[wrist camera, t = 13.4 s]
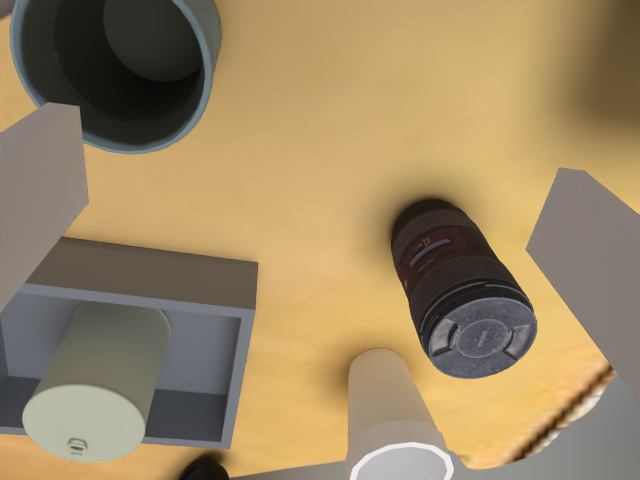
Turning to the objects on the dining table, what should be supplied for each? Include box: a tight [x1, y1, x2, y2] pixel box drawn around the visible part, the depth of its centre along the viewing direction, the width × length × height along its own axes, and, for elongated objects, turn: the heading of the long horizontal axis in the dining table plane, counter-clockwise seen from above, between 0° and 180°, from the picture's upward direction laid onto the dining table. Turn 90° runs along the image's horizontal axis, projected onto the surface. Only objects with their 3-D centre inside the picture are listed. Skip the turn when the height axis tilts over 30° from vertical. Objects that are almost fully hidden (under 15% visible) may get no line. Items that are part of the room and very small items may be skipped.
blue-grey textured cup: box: [10, 0, 222, 154], centre depth 31 cm, size 10×10×12 cm
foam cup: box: [346, 348, 454, 480], centre depth 50 cm, size 10×9×13 cm
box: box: [0, 237, 258, 449], centre depth 47 cm, size 24×18×7 cm
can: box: [22, 300, 171, 463], centre depth 44 cm, size 9×9×12 cm
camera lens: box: [391, 199, 537, 379], centre depth 41 cm, size 8×8×15 cm
